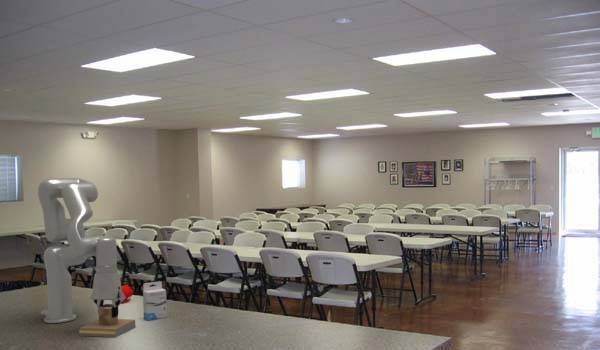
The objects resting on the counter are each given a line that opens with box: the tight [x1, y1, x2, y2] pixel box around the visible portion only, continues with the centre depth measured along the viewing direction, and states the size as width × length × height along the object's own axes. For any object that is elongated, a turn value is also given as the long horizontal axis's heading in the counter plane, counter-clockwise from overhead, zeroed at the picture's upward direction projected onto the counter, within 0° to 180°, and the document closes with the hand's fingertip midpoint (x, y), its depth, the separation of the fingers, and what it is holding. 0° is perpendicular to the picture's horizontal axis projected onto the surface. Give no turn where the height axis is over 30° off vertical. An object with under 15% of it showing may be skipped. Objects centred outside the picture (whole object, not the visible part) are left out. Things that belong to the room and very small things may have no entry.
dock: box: [78, 318, 136, 338], centre depth 216 cm, size 15×14×3 cm
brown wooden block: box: [97, 303, 119, 326], centre depth 216 cm, size 5×5×7 cm
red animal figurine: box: [118, 284, 134, 304], centre depth 270 cm, size 8×8×8 cm
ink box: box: [142, 281, 167, 321], centre depth 236 cm, size 8×5×15 cm, turn 123°
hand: (108, 316), depth 216 cm, fingers closed on brown wooden block, 5 cm apart
